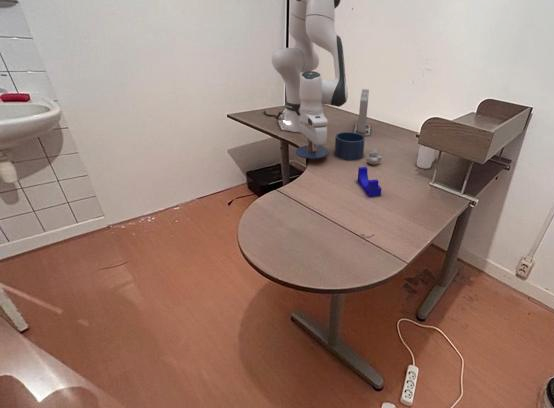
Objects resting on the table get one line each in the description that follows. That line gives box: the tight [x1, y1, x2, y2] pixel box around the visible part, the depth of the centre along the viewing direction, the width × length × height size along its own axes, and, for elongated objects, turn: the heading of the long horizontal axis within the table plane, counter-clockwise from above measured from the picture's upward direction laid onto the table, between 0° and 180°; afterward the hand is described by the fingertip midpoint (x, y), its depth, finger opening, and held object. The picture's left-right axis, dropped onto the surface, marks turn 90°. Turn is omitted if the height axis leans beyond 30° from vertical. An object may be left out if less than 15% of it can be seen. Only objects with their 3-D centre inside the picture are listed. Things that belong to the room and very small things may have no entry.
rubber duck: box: [366, 146, 383, 166], centre depth 127 cm, size 5×7×8 cm
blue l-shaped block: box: [356, 166, 382, 198], centre depth 108 cm, size 12×4×6 cm, turn 21°
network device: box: [353, 88, 371, 137], centre depth 163 cm, size 26×9×20 cm, turn 178°
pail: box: [334, 131, 366, 161], centre depth 133 cm, size 13×13×8 cm
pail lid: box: [295, 141, 330, 160], centre depth 126 cm, size 14×14×5 cm
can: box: [416, 144, 435, 170], centre depth 128 cm, size 6×6×12 cm
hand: (312, 148), depth 126 cm, fingers closed on pail lid, 3 cm apart
